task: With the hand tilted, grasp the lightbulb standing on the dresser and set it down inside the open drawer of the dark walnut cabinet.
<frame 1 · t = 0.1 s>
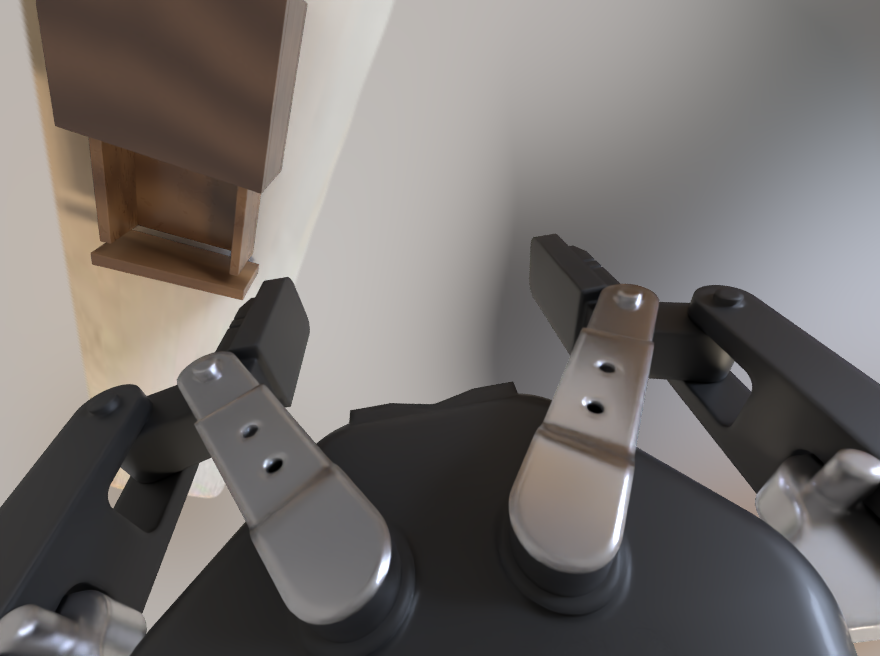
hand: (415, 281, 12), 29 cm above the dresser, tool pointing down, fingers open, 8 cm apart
drawer: (185, 218, 34), point 4 cm above the dresser, slide at 10.5 cm
cabinet: (208, 60, 30), on the dresser
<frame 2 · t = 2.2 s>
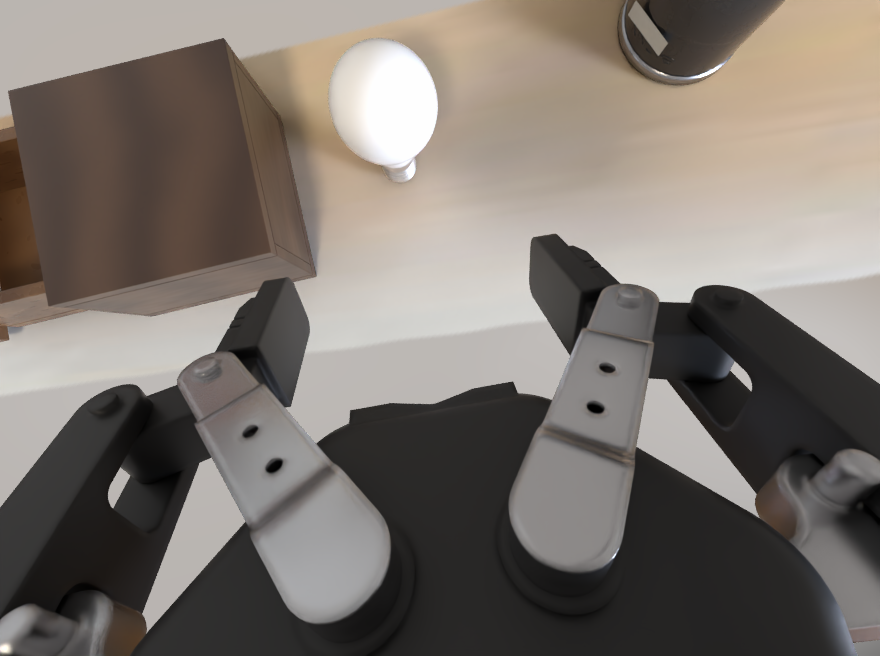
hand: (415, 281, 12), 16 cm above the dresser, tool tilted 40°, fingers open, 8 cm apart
drawer: (6, 239, 26), point 4 cm above the dresser, slide at 10.5 cm
cabinet: (216, 215, 29), on the dresser
lightbulb: (400, 171, 30), on the dresser
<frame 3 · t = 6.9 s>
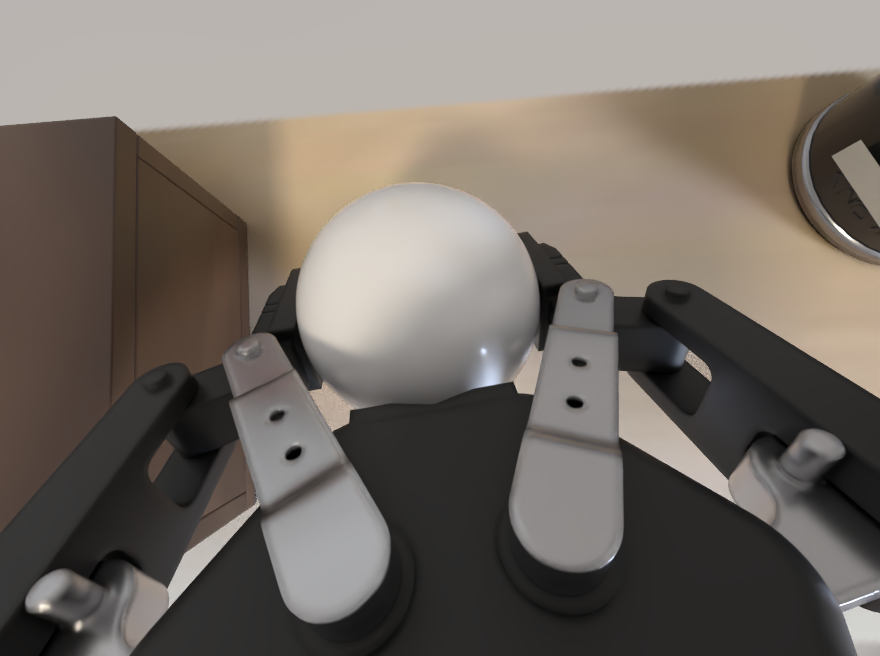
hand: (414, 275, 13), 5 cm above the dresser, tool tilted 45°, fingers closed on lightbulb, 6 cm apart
cabinet: (107, 370, 17), on the dresser
lightbulb: (426, 338, 18), on the dresser, touching gripper
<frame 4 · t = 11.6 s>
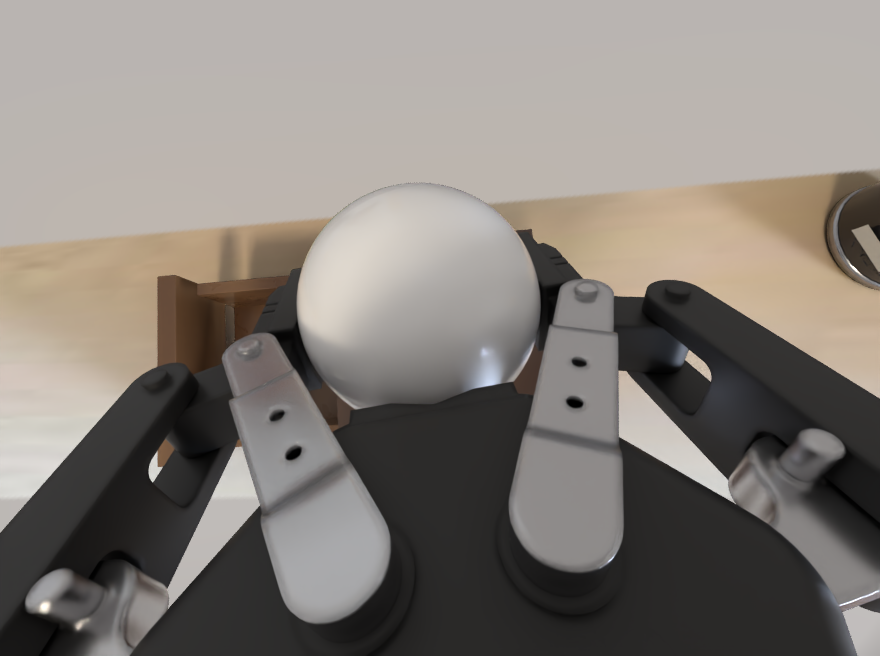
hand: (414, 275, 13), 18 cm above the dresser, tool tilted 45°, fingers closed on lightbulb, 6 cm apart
drawer: (265, 361, 27), point 4 cm above the dresser, slide at 10.5 cm
cabinet: (439, 348, 31), on the dresser
lightbulb: (427, 338, 18), point 13 cm above the dresser, touching gripper
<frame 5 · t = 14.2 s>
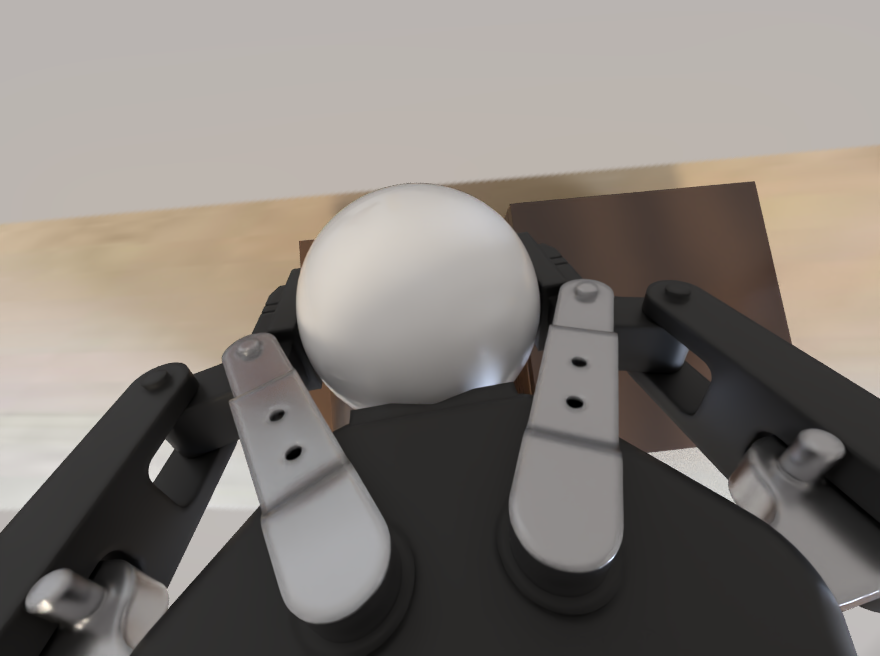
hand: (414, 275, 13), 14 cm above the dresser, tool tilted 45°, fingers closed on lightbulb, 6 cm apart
drawer: (414, 345, 22), point 4 cm above the dresser, slide at 10.5 cm
cabinet: (593, 332, 26), on the dresser
lightbulb: (426, 339, 18), point 8 cm above the dresser, touching gripper
when the fingers open (7 cm above the dresser, at t = 16.6 s): lightbulb stays where it is, resting on drawer.
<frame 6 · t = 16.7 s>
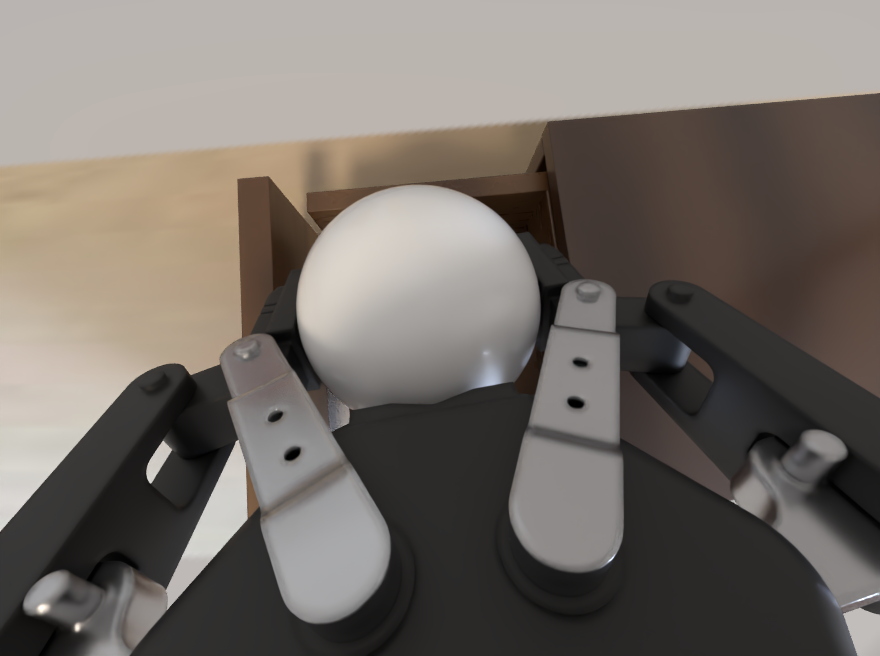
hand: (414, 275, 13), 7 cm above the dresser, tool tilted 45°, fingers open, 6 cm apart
drawer: (406, 334, 16), point 4 cm above the dresser, slide at 10.5 cm, touching lightbulb
cabinet: (644, 319, 20), on the dresser
lightbulb: (427, 339, 18), point 2 cm above the dresser, touching drawer
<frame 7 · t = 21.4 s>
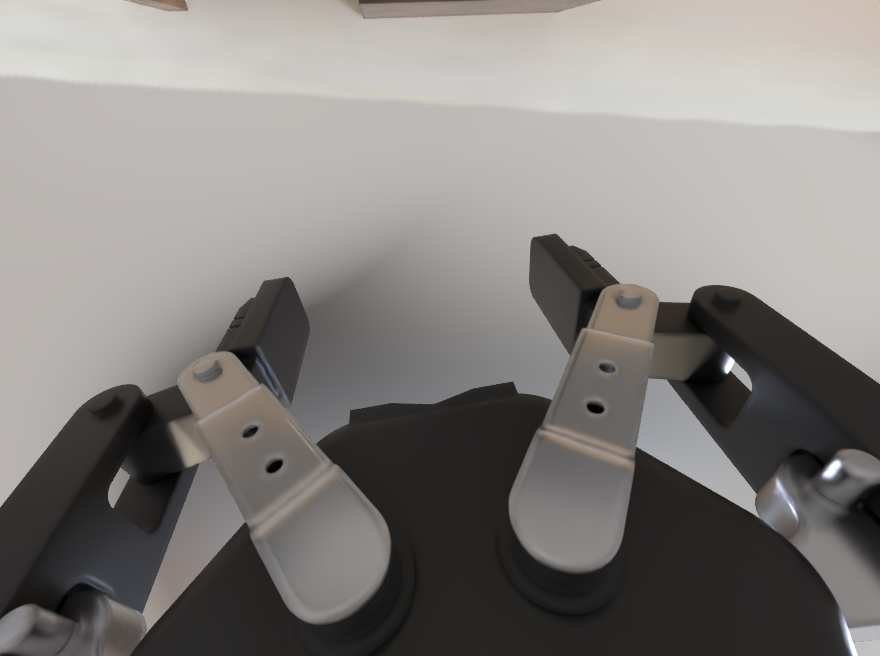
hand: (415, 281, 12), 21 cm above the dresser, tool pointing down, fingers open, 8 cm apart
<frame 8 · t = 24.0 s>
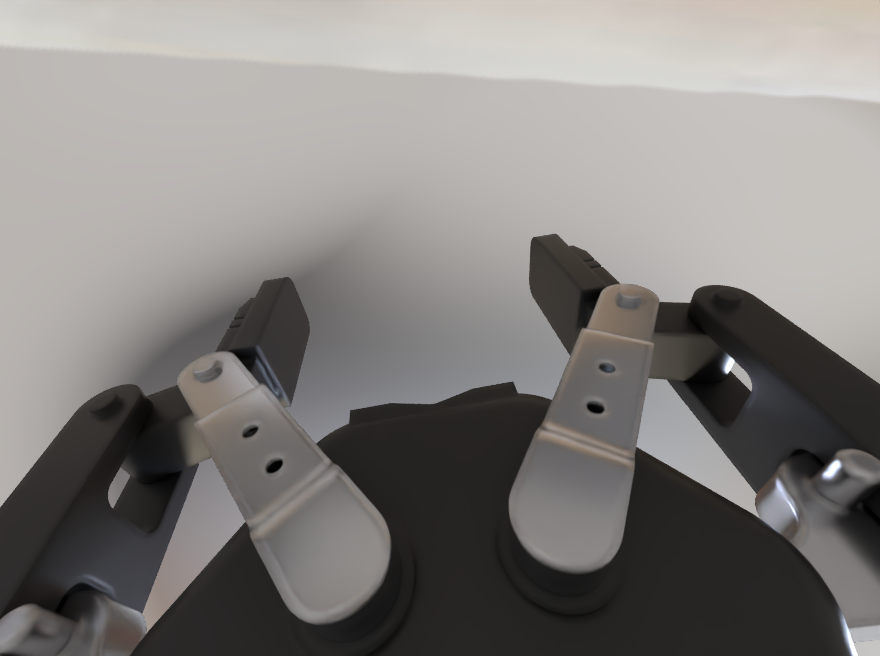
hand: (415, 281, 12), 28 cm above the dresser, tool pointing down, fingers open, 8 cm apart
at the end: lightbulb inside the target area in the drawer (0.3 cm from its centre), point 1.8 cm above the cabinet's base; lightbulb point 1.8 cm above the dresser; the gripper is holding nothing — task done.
